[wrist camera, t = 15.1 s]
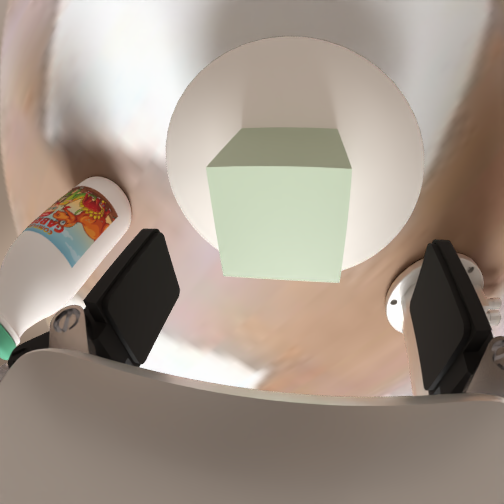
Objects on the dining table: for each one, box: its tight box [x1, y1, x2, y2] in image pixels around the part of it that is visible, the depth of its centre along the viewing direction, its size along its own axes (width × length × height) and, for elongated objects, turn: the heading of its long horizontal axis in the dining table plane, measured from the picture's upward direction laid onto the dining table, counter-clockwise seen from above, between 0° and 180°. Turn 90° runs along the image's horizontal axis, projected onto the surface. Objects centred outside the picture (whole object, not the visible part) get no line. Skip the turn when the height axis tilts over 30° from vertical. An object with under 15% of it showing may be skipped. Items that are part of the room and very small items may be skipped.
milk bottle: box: [0, 177, 132, 360], centre depth 22 cm, size 8×8×20 cm
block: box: [206, 127, 352, 283], centre depth 13 cm, size 5×5×6 cm
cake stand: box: [166, 36, 424, 271], centre depth 19 cm, size 15×15×8 cm
